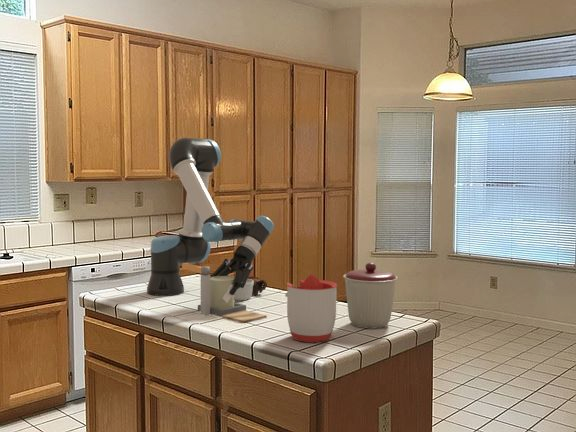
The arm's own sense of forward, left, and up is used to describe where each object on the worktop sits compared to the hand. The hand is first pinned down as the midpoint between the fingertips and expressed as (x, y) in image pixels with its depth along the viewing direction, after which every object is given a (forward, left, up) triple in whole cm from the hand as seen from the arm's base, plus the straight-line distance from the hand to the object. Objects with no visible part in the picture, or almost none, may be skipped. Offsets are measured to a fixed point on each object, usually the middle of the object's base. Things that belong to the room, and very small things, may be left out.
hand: (215, 299), depth 222 cm
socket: (0, +2, -5) cm, 5 cm away
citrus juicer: (+46, -3, -5) cm, 46 cm away
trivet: (+14, +1, -5) cm, 14 cm away
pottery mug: (-13, +33, -5) cm, 36 cm away
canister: (+51, +23, -5) cm, 56 cm away
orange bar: (-7, -4, +10) cm, 12 cm away
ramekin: (-12, +22, -5) cm, 26 cm away
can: (0, +3, -4) cm, 6 cm away
